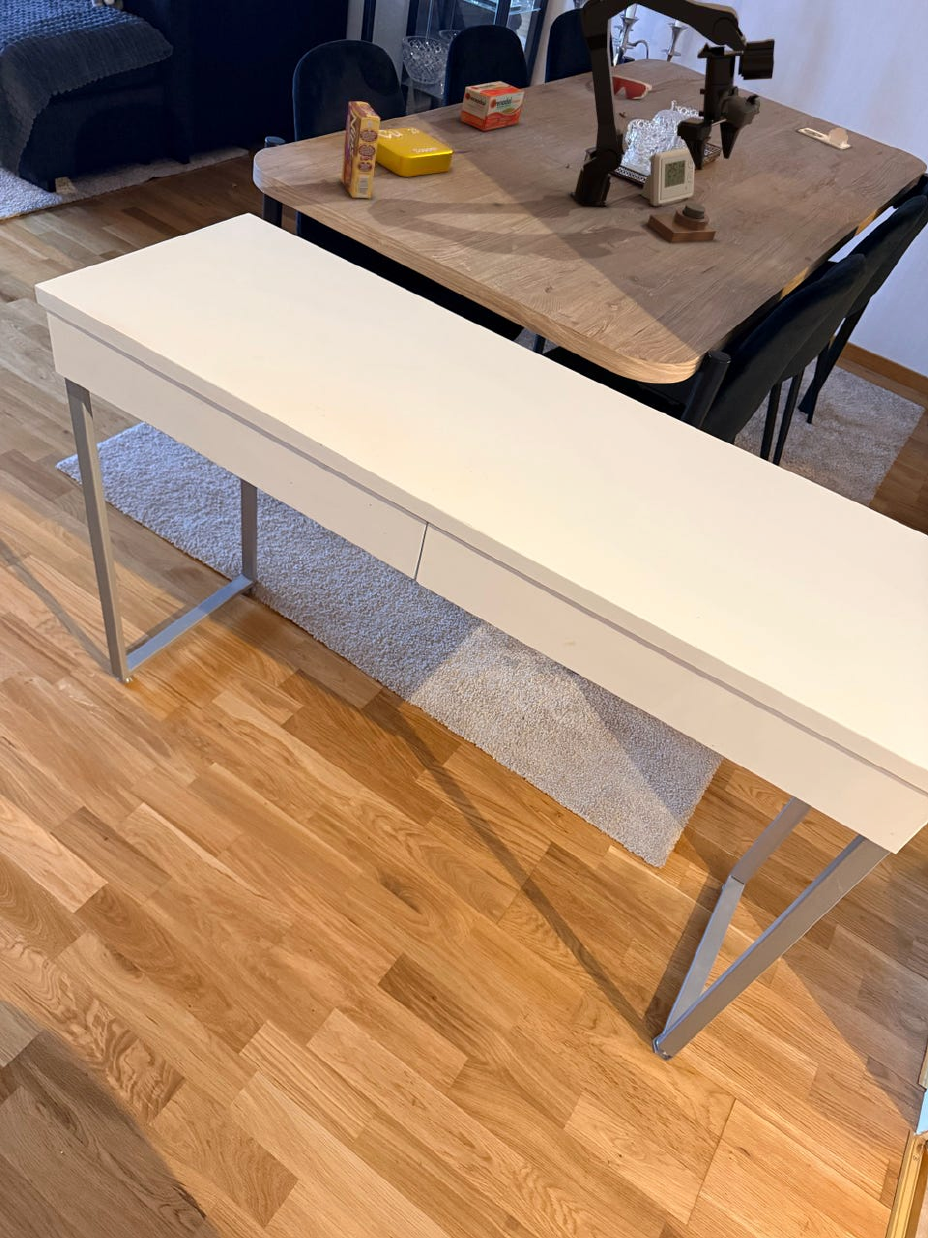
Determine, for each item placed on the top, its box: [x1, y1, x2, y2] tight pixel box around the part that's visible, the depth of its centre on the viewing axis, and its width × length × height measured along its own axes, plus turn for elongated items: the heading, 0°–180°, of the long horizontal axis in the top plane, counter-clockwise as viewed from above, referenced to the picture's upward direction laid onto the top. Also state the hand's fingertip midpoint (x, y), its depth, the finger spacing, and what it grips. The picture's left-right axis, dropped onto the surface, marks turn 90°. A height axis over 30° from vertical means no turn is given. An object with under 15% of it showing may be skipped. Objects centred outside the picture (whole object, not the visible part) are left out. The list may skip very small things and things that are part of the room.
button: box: [683, 202, 706, 219], centre depth 201 cm, size 4×4×2 cm
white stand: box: [797, 127, 851, 150], centre depth 278 cm, size 15×7×4 cm, turn 46°
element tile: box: [375, 126, 453, 178], centre depth 202 cm, size 15×15×5 cm
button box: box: [647, 206, 717, 243], centre depth 202 cm, size 12×9×4 cm
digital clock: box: [640, 146, 696, 207], centre depth 213 cm, size 16×9×11 cm, turn 123°
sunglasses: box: [612, 73, 653, 100], centre depth 278 cm, size 17×17×5 cm
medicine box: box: [460, 80, 525, 132], centre depth 231 cm, size 15×8×8 cm, turn 142°
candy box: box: [341, 101, 381, 200], centre depth 182 cm, size 9×4×15 cm, turn 20°
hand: (712, 164), depth 196 cm, fingers open, 9 cm apart
